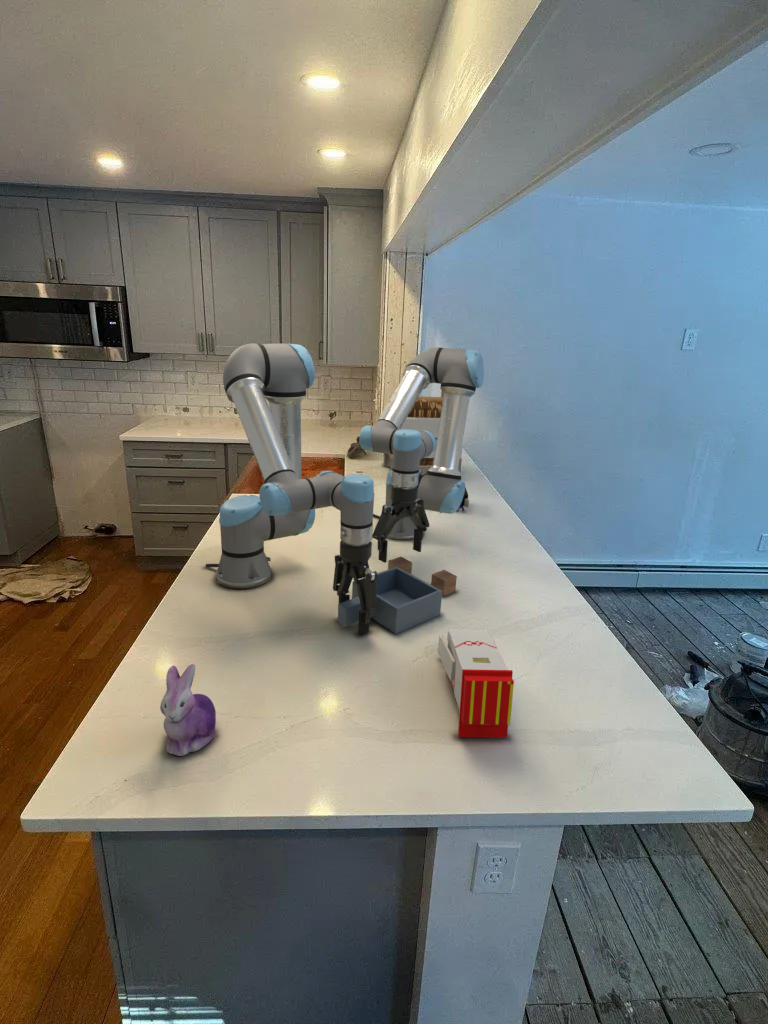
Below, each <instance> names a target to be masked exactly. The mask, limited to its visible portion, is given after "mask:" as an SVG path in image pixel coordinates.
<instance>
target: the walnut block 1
mask: <svg viewBox="0 0 768 1024" xmlns="http://www.w3.org/2000/svg"><path fill="white" fill-rule="evenodd" d="M394 567H398V568H400V569H402V570H404V571H406V572H408V573H410V574H411V575H413V574H412V571H413V562H412V561H411V560H409V559H408V558H405V557H403V556H398V557H395V558H392V559H388V562H387V570H389V569H391V568H394Z"/></svg>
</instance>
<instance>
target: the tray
mask: <svg viewBox="0 0 768 1024" xmlns="http://www.w3.org/2000/svg"><path fill="white" fill-rule="evenodd" d="M360 579H363V578H360ZM360 579H358V580H360ZM351 585H352V587H351V588H352V589H351V598H350V600H348V601H345V602H342V603H340V604H338V603H337V622H338V623H339V624H340V625H342V626H343V627H344V628H347V627H349V626H351V625H354V624H356V623H359V610H361V605H360V600H359V595H358V590H357V585H356V584H355V583H354V580H352V581H351ZM376 589H377V610H375V611H372V612H371V617H370V619H372V620H373V621H375V622H377V623H378V624H380V625H381V626H383V627H385V628H386V629H387V630H389V631H390V632H392V633H393V634H395V635H396V634H399V633H401V632H404V631H406V630H408V629H410V628H413V627H415V626H417V625H419V624H421V623H422V624H423V623H425V622H426V621H429V620H431V619H432V618H436V617H438V616H440V615H441V610H442V597H443V596H442V590H440V589H438V588H436V587H434V586H432V585H431V583H428V582H426V581H425V580H423V579H421V578H419V577H417V576H415V575H413V574H410V573H408V572H406V571H404V570H402V569H400V568H398V567H394V568H391V569H389V570H388V569H385V570H382V571H380V572H377V579H376Z"/></svg>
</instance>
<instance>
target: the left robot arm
mask: <svg viewBox="0 0 768 1024" xmlns="http://www.w3.org/2000/svg"><path fill="white" fill-rule="evenodd" d="M315 375H316V372H315V364H314V361H313V358H312V356H311V354H310V353H309V351H308V349H307V348H306V347H304V346H303V345H302V344H295V343H288V342H287V343H247V344H243V345H241V346H239V347H237V348H236V349H234V351H232V352H231V354H230V355H229V356H228V358H227V360H226V362H225V364H224V368H223V373H222V386H223V389H224V392H225V394H226V395H225V396H226V397H227V399H228V401H230V402H231V403H232V404H234V407H235V409H236V412H237V414H238V418H239V420H240V423H241V425H242V427H243V429H244V433H245V436H246V438H247V441H248V443H249V446H250V449H251V451H252V454H253V456H254V458H255V462H256V464H257V466H258V469H259V472H260V474H261V477H262V479H263V482H264V484H262V485H261V486H260V488H259V493H258V495H259V496H258V495H255V494H250V495H247V494H244V495H238V496H235V497H232V498H229V499H227V500H226V501H225V502H223V504H221V506H220V508H219V520H218V522H219V528H220V545H221V556H220V559H219V562H218V563H205V567H206V568H216V573H215V575H216V581H217V583H218V585H220V586H222V587H224V588H228V589H234V590H246V589H253V588H257V587H261V586H262V585H264V584H266V583H267V582H269V581H270V580H271V578H272V568H271V566H270V563H269V562H272V561H271V560H272V559H271V557H270V556H267V555H266V553H265V542H266V541H272V540H276V539H282V538H287V537H296V536H298V535H300V534H305V533H308V532H309V531H310V530H311V529H312V527H313V526H314V523H315V520H316V519H315V518H316V509H323V508H329V507H332V508H335V509H336V510H338V511H340V523H339V524H340V530H339V531H340V533H339V538H340V539H339V540H340V541H339V554H336V555H334V572H333V583H332V590H333V592H336V595H337V596H338V602H337V605H338V604H340V603H342V602H345V601H348V600H351V595H350V593H351V592H350V587H351V585H352V582H353V581H354V583H355V584H356V585H357V590H358V595H359V600H360V605H361V610H359V622H358V626H357V627H358V628H357V631H358V632H357V634H358V635H359V636H361V635H364V634H367V633H369V631H370V622H371V612H372V611H375V610H377V589H376V579H377V573H378V572H377V571H376V570H374V571H373V570H371V569H370V565H369V560H370V559H371V557H372V555H373V554H372V552H373V551H372V550H373V542H372V541H373V538H372V535H373V532H374V530H373V528H374V527H373V526H374V524H373V522H374V516H373V514H374V507H375V506H374V505H375V495H376V494H375V486H374V485H375V484H374V479H373V478H372V477H371V476H369V475H365V474H361V473H351V474H346V475H342V474H340V473H339V472H336V471H333V470H328V469H327V470H321V471H320V472H318V473H317V474H316V475H315V476H311V477H304V478H303V477H302V416H301V415H302V405H301V403H302V401H303V400H304V399H305V398H306V397H307V389H309V388H311V387H312V386H313V385H314V382H315V377H316V376H315ZM267 401H268V402H267ZM362 578H363V579H362ZM359 579H360V580H359Z"/></svg>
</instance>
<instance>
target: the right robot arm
mask: <svg viewBox="0 0 768 1024" xmlns="http://www.w3.org/2000/svg"><path fill="white" fill-rule="evenodd" d="M484 377H485V365H484V359H483V356H482V354H481V352H480V351H479V350H476V349H475V350H474V349H469V348H453V347H441V346H439V347H438V346H436V347H430V348H428V349H426V350H425V349H424V350H423V351H421V352H420V353H418V354H417V355H416V356H414V357H413V358H412V359H411V360H410V361H408V363H407V364H406V366H405V367H404V369H403V371H402V378H401V380H400V381H399V383H398V385H397V386H398V387H397V386H396V388H395V390H394V391H393V394H392V395H391V397H390V398H389V400H388V402H387V403H386V405H385V407H384V408H383V410H382V411H381V413H380V415H379V416H378V418H377V420H376V421H375V423H374V425H364V426H363V427H362V428H361V430H360V432H359V436H360V437H359V442H360V446H361V448H362V449H364V450H365V451H368V452H371V453H379V454H384V453H385V454H392V455H393V467H392V470H391V471H390V470H389V471H388V473H387V475H386V482H385V504H383V505H382V507H381V513H380V514H379V515H377V514H374V513H373V518H377V519H378V520H377V523H376V525H375V528H374V530H373V532H372V539H374V540H375V541H377V545H376V546H377V551H378V559H377V560H378V561H380V562H382V563H384V564H386V563H388V562H387V560H388V545H389V544H388V542H389V541H388V540H387V539H389V540H395V541H410V540H413V543H412V550H414V551H415V552H417V553H421V552H422V545H423V544H422V543H423V542H422V541H423V540H424V532H427V530H428V528H429V527H430V522H429V519H428V515H427V513H426V511H430V512H437V513H439V514H449V515H452V514H454V513H456V512H457V511H458V510H459V509H460V508H459V506H460V504H461V502H462V499H463V496H464V492H465V487H466V482H465V481H464V480H462V473H460V472H459V471H458V466H459V460H460V454H461V455H462V453H461V447H462V448H463V443H462V441H463V442H464V434H465V429H466V422H467V416H468V410H469V406H470V405H469V403H470V399H471V398H472V396H474V395H475V394H476V390H477V388H478V389H479V388H481V387H482V386H483V383H484ZM430 384H439V385H440V390H441V392H443V393H444V397H443V404H442V410H441V416H440V423H439V429H438V435H437V441H436V439H435V437H434V435H433V434H432V433H431V432H429V431H416V430H409V429H403V430H400V429H401V427H402V425H403V423H404V422H405V420H406V418H407V416H408V415H409V413H410V411H411V409H412V408H413V406H414V404H415V402H416V400H417V399H418V397H420V395H421V393H422V392H423V390H425V389H427V388H429V386H430ZM434 450H435V454H434V460H433V465H431V466H429V468H428V469H427V470H426V474H422V470H421V468H420V467H421V466H420V460H421V459H423V458H425V457H428V456H429V455H430V454H431V453H432V452H433V451H434Z"/></svg>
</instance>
